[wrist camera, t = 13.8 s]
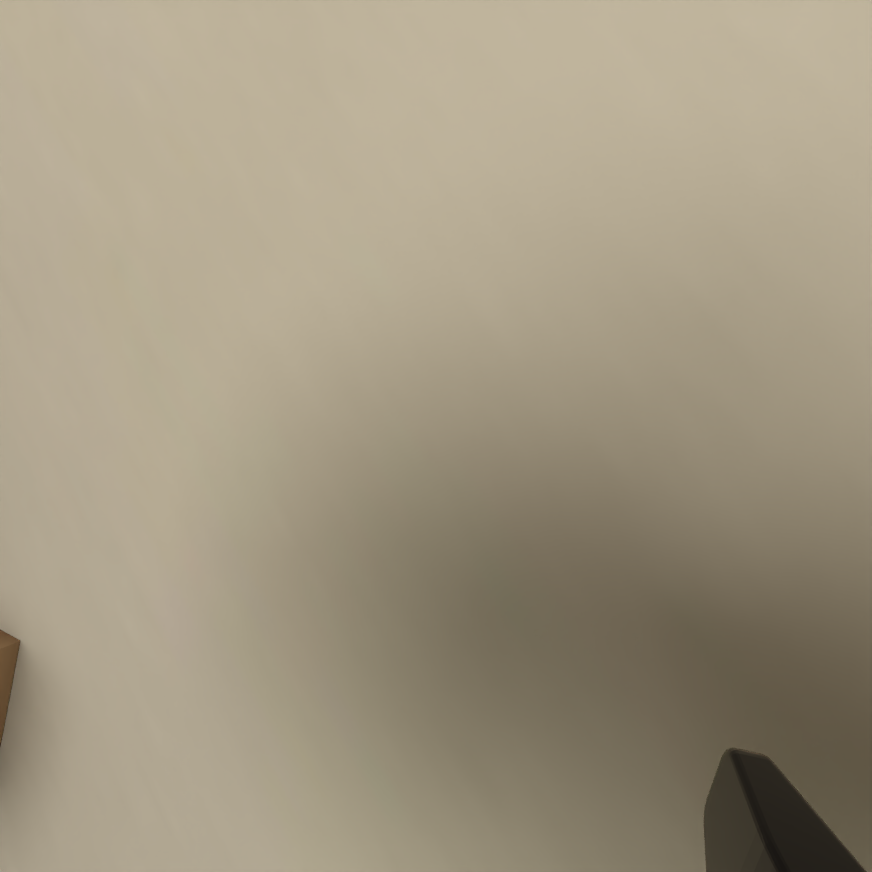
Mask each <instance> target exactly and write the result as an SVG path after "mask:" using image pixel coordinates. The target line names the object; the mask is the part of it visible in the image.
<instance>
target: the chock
mask: <svg viewBox="0 0 872 872" xmlns="http://www.w3.org/2000/svg"><path fill="white" fill-rule="evenodd" d="M19 645H20V640H18V639H16V638H14V637H12V636H11V635H9V634H7V633H5V632H3V631H1V630H0V745H1V740H2V735H3V729H4V724H5V719H6V714H7V708H8V703H9V698H10V692H11V687H12V682H13V677H14V671H15V666H16V661H17V655H18V650H19Z"/></svg>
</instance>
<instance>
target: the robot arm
mask: <svg viewBox="0 0 872 872" xmlns="http://www.w3.org/2000/svg"><path fill="white" fill-rule="evenodd" d="M704 838H705V856H706V872H866V870H865V869H864V868H863V867H862V866H861V864H860V863H859V862H858V861H857V860H856V859H855V857H854V856H853V855H852V854H851V853H850V852H849V850H848V849H847V848H846V847H845V846H844V845H843V843H842V842H841V841H840V840H839V839H838V838H837V836H836V835H835V834H834V833H833V832H832V831H831V829H830V828H829V827H828V826H827V825H826V824H825V822H824V821H823V820H822V819H821V818H820V817H819V815H818V814H817V813H816V812H815V811H814V809H813V808H812V807H811V806H810V805H809V804H808V802H807V801H806V800H805V799H804V798H803V797H802V795H801V794H800V793H799V792H798V791H797V790H796V788H795V787H794V786H793V785H792V784H791V783H790V781H789V780H788V779H787V778H786V777H785V776H784V774H783V773H782V772H781V771H780V770H779V769H778V767H777V766H776V765H775V764H774V763H773V762H772V761H771V760H770V759H769V758H768V757H767V756H765V755H763V754H759V753H755V752H750V751H746V750H741V749H737V748H730V749H728V750H726V751H725V753H724V754H723V756H722V758H721V761H720V763H719V766H718V769H717V772H716V775H715V777H714V780H713V783H712V786H711V789H710V791H709V794H708V797H707V800H706V804H705V810H704Z"/></svg>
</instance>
